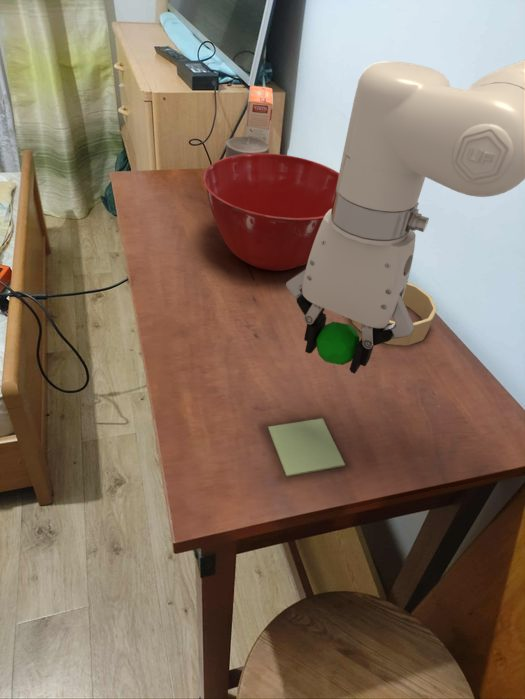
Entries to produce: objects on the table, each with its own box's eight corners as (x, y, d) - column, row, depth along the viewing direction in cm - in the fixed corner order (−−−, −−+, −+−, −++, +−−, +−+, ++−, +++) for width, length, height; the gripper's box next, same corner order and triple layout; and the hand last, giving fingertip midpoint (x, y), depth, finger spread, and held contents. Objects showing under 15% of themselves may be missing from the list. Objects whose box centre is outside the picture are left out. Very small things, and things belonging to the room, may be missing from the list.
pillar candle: (257, 193, 127) (263, 130, 117) (267, 210, 120) (275, 146, 110) (218, 193, 124) (221, 130, 114) (227, 212, 117) (231, 145, 107)
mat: (322, 420, 71) (322, 418, 71) (344, 466, 66) (345, 464, 65) (267, 428, 69) (268, 426, 69) (286, 477, 63) (286, 475, 63)
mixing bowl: (330, 306, 93) (348, 229, 83) (181, 274, 95) (181, 196, 85) (345, 236, 114) (361, 168, 104) (222, 212, 117) (226, 143, 107)
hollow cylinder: (436, 315, 94) (444, 295, 91) (414, 356, 84) (423, 335, 81) (366, 289, 98) (371, 269, 95) (338, 324, 89) (343, 303, 86)
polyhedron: (311, 368, 58) (318, 336, 55) (314, 341, 62) (321, 310, 59) (354, 376, 58) (363, 344, 55) (355, 349, 62) (364, 318, 59)
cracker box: (263, 192, 127) (273, 103, 114) (239, 190, 127) (246, 100, 113) (264, 171, 138) (273, 87, 124) (242, 168, 138) (248, 84, 124)
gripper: (469, 226, 48) (413, 368, 60) (308, 175, 53) (285, 314, 65) (450, 258, 43) (392, 406, 55) (274, 198, 48) (256, 344, 60)
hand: (334, 355), depth 60 cm, fingers closed on polyhedron, 5 cm apart
